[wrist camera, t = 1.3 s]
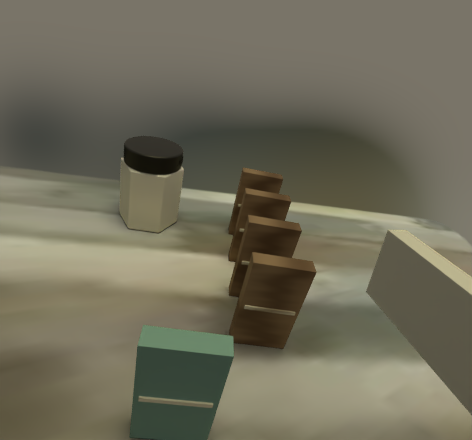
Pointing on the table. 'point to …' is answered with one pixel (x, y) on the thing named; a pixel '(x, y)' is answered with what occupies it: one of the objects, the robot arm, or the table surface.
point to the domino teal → (178, 383)
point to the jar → (150, 183)
